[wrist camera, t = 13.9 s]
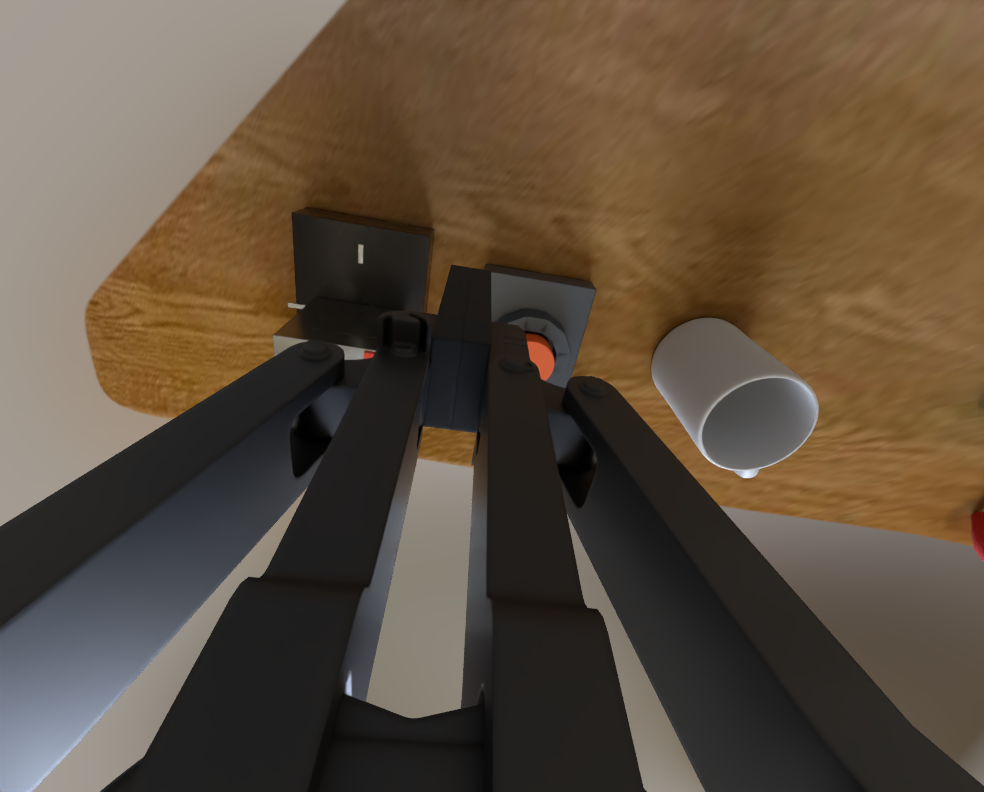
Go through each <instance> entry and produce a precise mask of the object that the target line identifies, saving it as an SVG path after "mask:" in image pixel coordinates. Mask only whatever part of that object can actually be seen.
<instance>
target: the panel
mask: <svg viewBox="0 0 984 792" xmlns="http://www.w3.org/2000/svg"><path fill="white" fill-rule="evenodd" d="M292 226H293V245H294V264H295V284H296V303H291V302H288V307H291V308H297V313H298V312H299V311H300V310H301V309H302V308H304V307H305V306H306V305H307V304H308V303H309V302H310V301H311V300H312V299H313V298H315V297H319V298H325V299H332V300H338V301H344V302H351V303H357V304H363V305H370V306H376V307H382V308H389V309H395V310H401V311H415V312H421V313H426V311H427V301H428V291H429V280H430V270H431V260H432V250H433V240H434V229H429V228H423V227H417V226H412V225H406V224H400V223H394V222H389V221H383V220H377V219H371V218H366V217H360V216H354V215H348V214H342V213H337V212H331V211H325V210H319V209H314V208H308V207H306V208H304V209H301V210H298V211H295V212H293V213H292Z"/></svg>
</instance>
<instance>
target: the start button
mask: <svg viewBox="0 0 984 792" xmlns="http://www.w3.org/2000/svg"><path fill="white" fill-rule="evenodd" d="M526 338H527V344H528V350H529V356H530V360H531V361H532V362H534V363H535V364H536V365H537V367H538V368H539V372H540V377H541V379H542V380H544V381H546V380H547V379H548V378H549V377H550V375H551V374H552V372H553V369H554V364H555V362H554V356H553V353H552V349H551V347H550V345H549V343H548V342H547V340H545V339H544V338H543V337H541V336H540V335H537V334H533V333H526Z"/></svg>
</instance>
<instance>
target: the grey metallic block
mask: <svg viewBox="0 0 984 792" xmlns="http://www.w3.org/2000/svg"><path fill="white" fill-rule="evenodd" d="M389 311H398V310H395V309H389V308H382V307H376V306H370V305H363V304H357V303H351V302H344V301H338V300H332V299H325V298H319V297H315V298H313V299H312V300H311V301H310V302H309V303H308V304H307V305H306V306H305V307H304V308H302V309H301V310H300V311H299V312H298V313H297V314H296V315H295V316H294V317H292V318H291V319H290V320H289V321H288V322H287V323H286V324H285V325H284V326H282V327H281V328H280V329H279V330H278V331H277V332H276V333H275V334H274V335H273V346H274V356H276V355H278V354H279V353H281V352H282V351H284V350H286V349H287V348H289V347H290V346H293V345H295V344H298V343H302V342H307V341H310V340H315V341H316V340H320V341H323V342H329V343H332V344H335V345H338V346H339V347H341V348H342V349H343V350H344V354H345V360H357V359H367V358H372V357H373V356H374V354H375V352H376V350H377V348H378V317H379V316H380V315H381V314H383V313H386V312H389Z"/></svg>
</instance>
